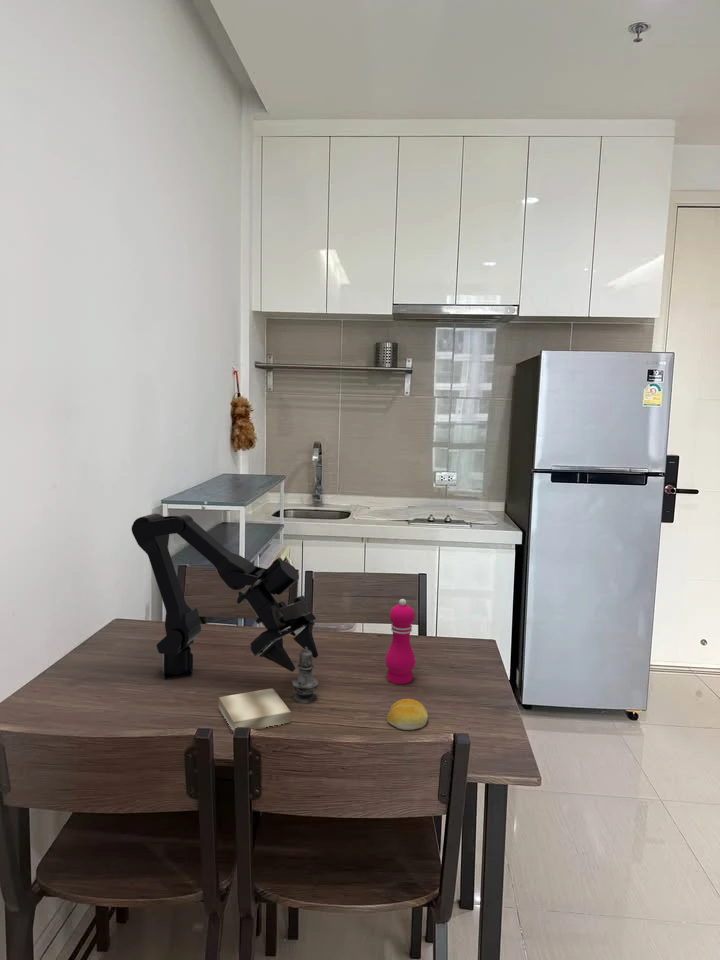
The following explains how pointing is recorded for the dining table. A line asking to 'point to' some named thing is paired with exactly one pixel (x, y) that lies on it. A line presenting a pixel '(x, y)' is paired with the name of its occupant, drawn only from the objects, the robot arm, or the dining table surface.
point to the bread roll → (407, 714)
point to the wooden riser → (254, 709)
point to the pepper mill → (400, 645)
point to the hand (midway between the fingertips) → (305, 663)
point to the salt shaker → (305, 679)
